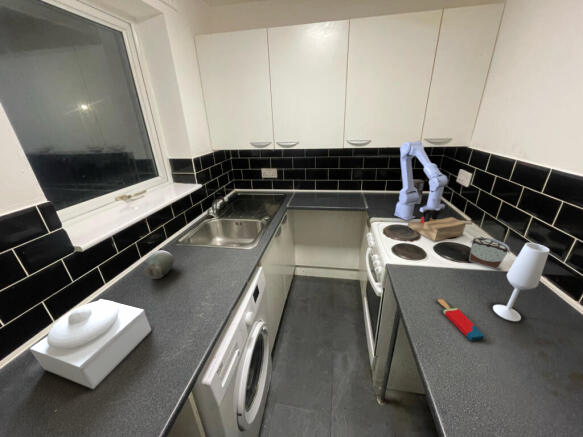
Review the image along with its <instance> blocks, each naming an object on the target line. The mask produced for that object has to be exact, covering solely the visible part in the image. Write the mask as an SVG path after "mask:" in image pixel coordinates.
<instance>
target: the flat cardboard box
mask: <svg viewBox="0 0 583 437" xmlns="http://www.w3.org/2000/svg"><path fill="white" fill-rule="evenodd" d="M466 224H467V222H465V221H462V220H460V219H458V218H455V217H453V216H449V217H445V218H439V219H436V220H434V221H429V222H424V224H423V223H421V220H419V221H414V222H408V223H407V228H410V229H411V230H413V231H415V232H417V233H419V234H421V235H423V236H424V237H426V238H428V239H429V240H431V241H432V242H439V241H443V240H449V239H451V238H456V237H460V236H463V235H464V231H465V228H466Z"/></svg>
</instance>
